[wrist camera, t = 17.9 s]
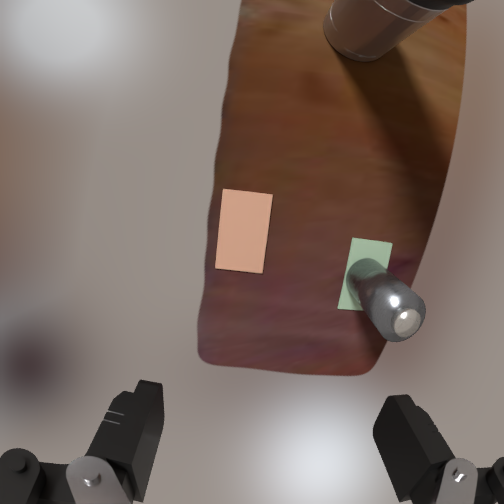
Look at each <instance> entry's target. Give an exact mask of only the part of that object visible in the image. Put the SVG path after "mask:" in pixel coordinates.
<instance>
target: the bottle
mask: <svg viewBox="0 0 504 504" xmlns="http://www.w3.org/2000/svg"><path fill="white" fill-rule="evenodd" d="M346 286H347V288H348V290H349V292H350V293H351V294H352V295H353V297H354V298H355V299H356V301H357V302H358V303H359V305H360V306H361V307H362V309H363V310H364V312H365V313H366V314H367V316H368V317H369V318H370V320H371V321H372V322H373V324H374V325H375V327H376V328H377V329H378V331H379V332H380V333H381V335H382V336H383V337H384V338H385V339H386V340H388V341H391V342H400V341H403V340H406V339H408V338H410V337H411V336H412V335H414V334H415V333H416V332H417V331H418V330H419V328H420V327H421V325H422V323H423V321H424V318H425V313H426V308H425V304H424V301H423V300H422V299H421V298H420V297H419V296H418V295H417V294H416V293H415V292H413V291H412V290H411V289H410V288H409V287H408V286H406V285H405V284H404V283H403V282H402V281H400V280H399V279H398V278H397V277H396V276H394V275H393V274H392V273H391V272H390V271H388V270H387V269H386V268H385V267H384V266H382V265H381V264H380V263H379V262H377V261H376V260H374V259H371V258H363V259H360V260H358V261H356V262H355V263H354V264H353V265H352V266H351V267H350V268H349V270H348V272H347V275H346Z"/></svg>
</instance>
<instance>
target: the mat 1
mask: <svg viewBox="0 0 504 504" xmlns="http://www.w3.org/2000/svg"><path fill="white" fill-rule="evenodd" d="M272 197H273V195H271V194H263V193H255V192H247V191H238V190H229V189H223V195H222V204H221V214H220V224H219V234H218V244H217V254H216V265H215V268H218V269H227V270H236V271H245V272H254V273H262V272H263V265H264V257H265V250H266V243H267V235H268V228H269V220H270V212H271V205H272Z"/></svg>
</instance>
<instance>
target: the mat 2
mask: <svg viewBox="0 0 504 504" xmlns="http://www.w3.org/2000/svg"><path fill="white" fill-rule="evenodd" d="M392 244H393V243H387V242H380V241H373V240H366V239H359V238H352V242H351V247H350V252H349V257H348V262H347V267H346V272H345V277H344V281H343V286H342V290H341V295H340V299H339V303H338V309H348V310H363V309H362V307H361V306H360V305H359V303H358V302H357V301H356V299H355V298H354V297H353V295H352V294H351V293H350V292H349V290H348V288H347V286H346V275H347V272H348V270H349V268H350V267H351V266H352V265H353V264H354V263H355V262H356V261H358V260H360V259H363V258H371V259H374V260H376V261H377V262H379V263H380V264H381V265H382V266H384V267H385V268H386V269H387V266H388V262H389V258H390V253H391V248H392Z"/></svg>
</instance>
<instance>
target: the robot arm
mask: <svg viewBox="0 0 504 504" xmlns="http://www.w3.org/2000/svg"><path fill="white" fill-rule="evenodd" d="M471 1H474V0H335V1H334V3H333V4H332V6H331V8H330V9H329V11H328V13H327V15H326V17H325V19H324V25H323V27H324V33H325V35H326V38H327V40H328V41H329V43H330V44H331V45H332V46H333V47H334V48H335V50H337V51H338V52H339V53H341V54H342V55H344V56H346V57H347V58H350V59H353V60H355V61H361V62H369V61H374V60H376V59H378V58H380V57H381V56H383V55H384V54H385V53H387V52H388V51H389V50H391V49H392V48H393V47H395V46H396V45H397V44H399V43H400V42H401V41H403V40H404V39H406V38H407V37H408V36H410V35H411V34H412V33H414V32H415V31H417V30H418V29H419V28H421V27H422V26H424V25H425V24H427V23H428V22H429V21H431V20H432V19H434V18H435V17H436V16H438V15H439V14H441V13H442V12H444V11H445V10H447V9H448V8H450V7H451V6H453V5H463V4H467V3H469V2H471ZM163 425H164V401H163V386H162V384H161V383H156V382H150V381H145V380H140V381H139V382H138V385H137V386H136V389H135V391H134V393H132V392H127V391H123V392H122V393H120V394H119V395H118V396H117V397H115V398H114V399H113V401H112V403H111V405H110V407H109V409H108V412H107V413H106V414H105V417H104V420H103V421H102V422H101V424H100V427H99V429H98V431H97V433H96V435H95V437H94V439H93V441H92V443H91V445H90V447H89V449H88V451H87V453H86V454H85V456H83V457H79V458H77V459H75V460H73V461H72V462H71V463H70V464H53V463H44V462H39V461H38V459H37V458H36V456H35V455H34V454H33V453H31V452H29V451H28V450H25V449H21V448H16V449H11V450H8V451H6V452H5V453H4V454H3V455H2V456H1V458H0V504H133V500H135V501H139V502H143V500H144V496H145V492H146V489H147V485H148V481H149V477H150V474H151V470H152V466H153V463H154V459H155V455H156V452H157V448H158V444H159V441H160V437H161V434H162V430H163ZM373 438H374V441H375V443H376V445H377V448H378V450H379V453H380V455H381V458H382V460H383V462H384V465H385V467H386V470H387V472H388V475H389V477H390V480H391V482H392V485H393V487H394V490H395V492H396V495H397V498H398V500H399V502H403V501H407V500H412V503H413V504H495V503H496V502H498V504H504V457H501V458H499V459H498V460H497V461H496V462H495V463H494V464H493V466H492V467H489V468H476V467H475V466H474V464H473V463H471V462H470V461H468V460H466V459H463V458H455V456H454V455H453V453H452V451H451V450H450V448H449V446H448V445H447V443H446V441H445V440H444V438H443V437H442V435H441V433H440V432H438V429H437V427H436V425H434V422H433V421H432V420H431V418H430V416H429V415H428V413H427V412H425V411H424V410H423V409H422V408H420V407H419V406H416V405H415V404H414V402H413V400H412V399H411V397H410V396H409V395H407V394H406V395H393V396H388V397H387V399H386V401H385V403H384V405H383V407H382V409H381V411H380V413H379V415H378V417H377V419H376V421H375V424H374V427H373Z"/></svg>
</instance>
